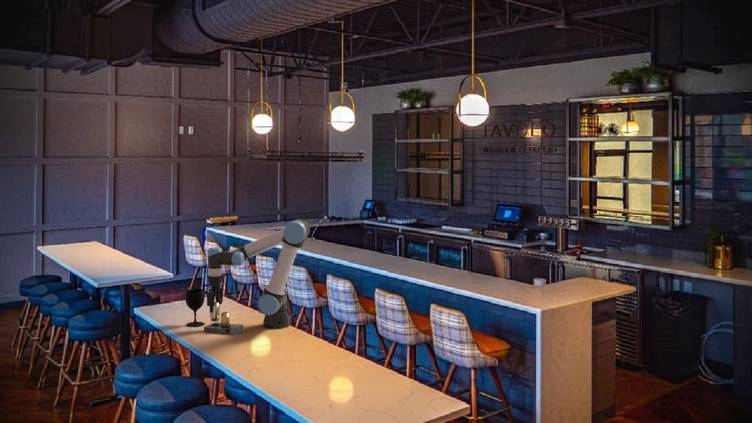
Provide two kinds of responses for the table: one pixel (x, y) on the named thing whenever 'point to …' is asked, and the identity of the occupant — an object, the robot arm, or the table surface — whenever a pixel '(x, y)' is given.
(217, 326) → the grey flat frame
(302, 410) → the table surface
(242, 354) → the table surface
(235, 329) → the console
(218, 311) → the loose billet
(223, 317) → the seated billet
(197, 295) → the wine glass
